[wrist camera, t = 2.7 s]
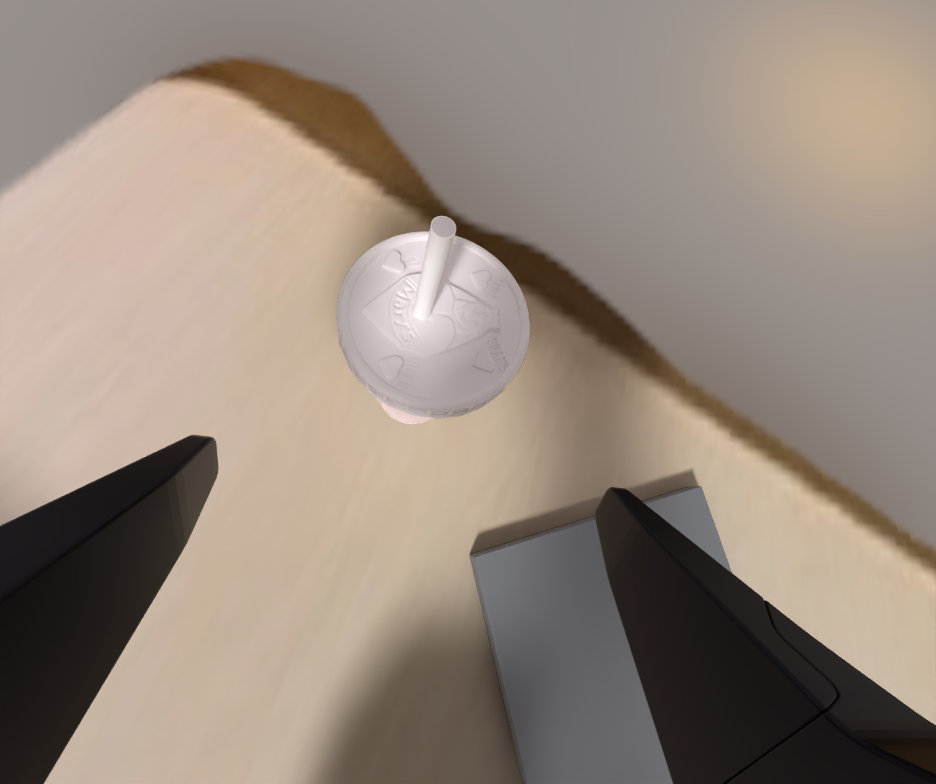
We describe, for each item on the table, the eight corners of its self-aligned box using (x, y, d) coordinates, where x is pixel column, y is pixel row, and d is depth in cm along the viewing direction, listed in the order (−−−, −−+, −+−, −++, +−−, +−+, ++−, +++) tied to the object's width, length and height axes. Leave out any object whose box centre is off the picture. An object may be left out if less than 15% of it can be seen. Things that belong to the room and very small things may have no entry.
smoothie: (354, 332, 22) (323, 87, 9) (468, 339, 24) (587, 136, 10) (348, 449, 20) (301, 362, 7) (471, 449, 22) (617, 375, 9)
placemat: (545, 880, 18) (555, 902, 17) (469, 554, 20) (474, 557, 20) (779, 747, 22) (797, 758, 21) (688, 486, 24) (701, 486, 23)
